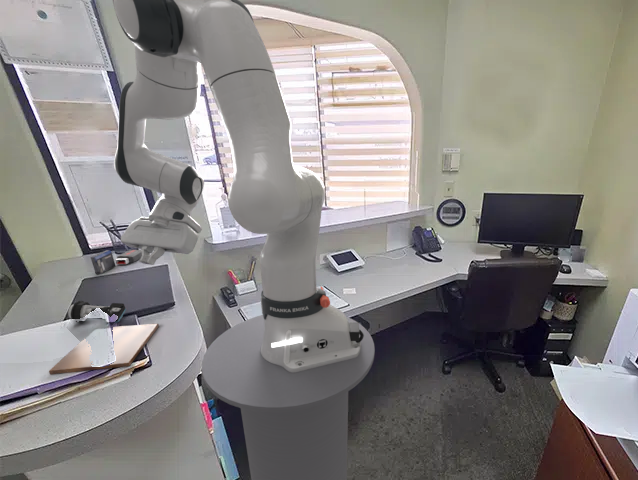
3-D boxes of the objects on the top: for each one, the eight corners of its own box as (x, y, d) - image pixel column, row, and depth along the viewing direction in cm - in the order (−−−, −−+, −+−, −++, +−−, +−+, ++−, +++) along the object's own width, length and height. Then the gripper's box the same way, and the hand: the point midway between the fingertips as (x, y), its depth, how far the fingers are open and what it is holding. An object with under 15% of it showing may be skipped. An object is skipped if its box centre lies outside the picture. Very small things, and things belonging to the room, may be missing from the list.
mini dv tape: (100, 273, 105) (95, 257, 103) (95, 274, 105) (90, 257, 102) (115, 266, 112) (111, 250, 110) (110, 266, 112) (106, 250, 110)
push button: (110, 318, 73) (58, 316, 71) (117, 332, 77) (67, 331, 74) (123, 298, 78) (75, 296, 76) (128, 312, 82) (83, 310, 79)
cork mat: (159, 326, 76) (158, 323, 76) (129, 366, 62) (128, 362, 62) (96, 331, 73) (95, 328, 73) (49, 374, 59) (48, 371, 58)
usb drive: (145, 255, 125) (143, 248, 124) (129, 264, 114) (127, 257, 113) (130, 255, 124) (128, 248, 123) (113, 265, 113) (111, 257, 112)
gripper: (128, 209, 85) (102, 253, 80) (193, 216, 82) (170, 262, 76) (146, 223, 91) (123, 264, 86) (207, 229, 87) (187, 273, 82)
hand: (146, 263), depth 81 cm, fingers closed
